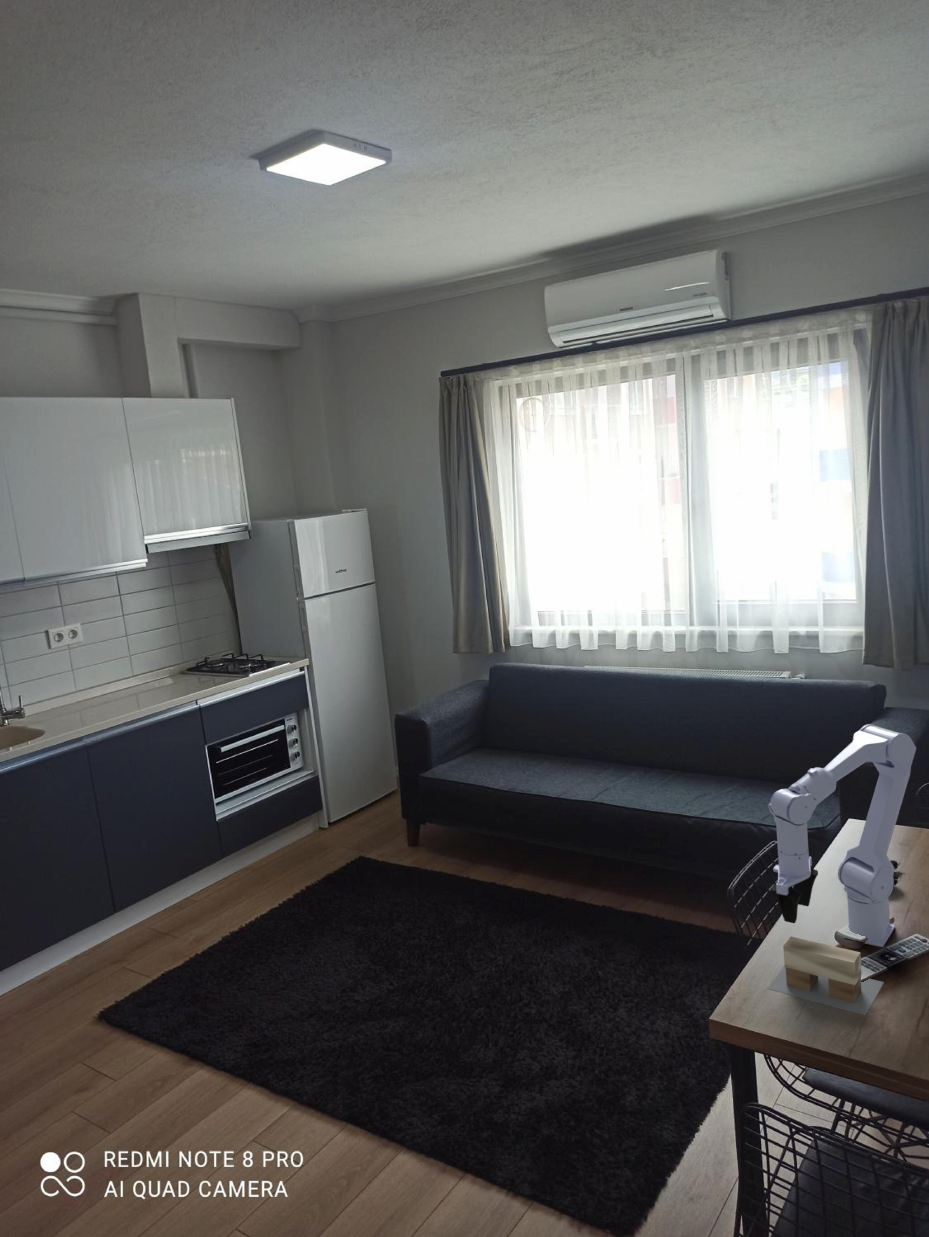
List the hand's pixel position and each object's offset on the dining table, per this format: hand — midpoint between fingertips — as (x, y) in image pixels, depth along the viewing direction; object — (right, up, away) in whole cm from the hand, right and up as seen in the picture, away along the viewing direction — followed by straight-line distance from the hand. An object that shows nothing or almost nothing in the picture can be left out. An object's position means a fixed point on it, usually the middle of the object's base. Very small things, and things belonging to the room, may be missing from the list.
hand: (796, 913), depth 185 cm
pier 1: (-1, -11, -7) cm, 13 cm away
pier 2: (+5, -11, -12) cm, 17 cm away
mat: (+2, -11, -9) cm, 15 cm away
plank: (+1, -8, -10) cm, 13 cm away
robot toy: (+29, -2, +30) cm, 41 cm away
